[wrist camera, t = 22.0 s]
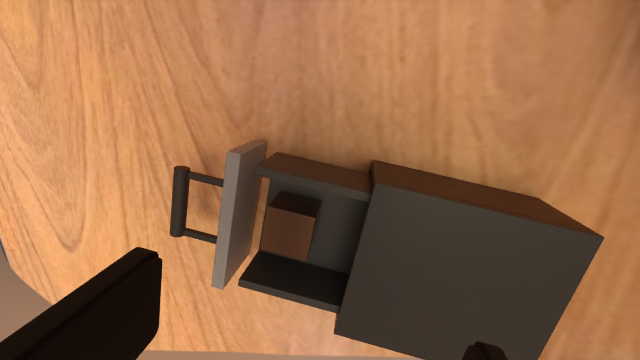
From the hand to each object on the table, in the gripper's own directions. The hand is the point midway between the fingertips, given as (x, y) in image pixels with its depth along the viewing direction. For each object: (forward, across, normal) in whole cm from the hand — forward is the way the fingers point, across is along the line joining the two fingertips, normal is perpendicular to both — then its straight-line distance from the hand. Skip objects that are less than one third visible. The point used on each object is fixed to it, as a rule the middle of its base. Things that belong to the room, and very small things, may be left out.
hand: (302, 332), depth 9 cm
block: (+21, +4, +7) cm, 23 cm away
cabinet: (+23, -11, +7) cm, 27 cm away
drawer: (+23, +5, +7) cm, 24 cm away
